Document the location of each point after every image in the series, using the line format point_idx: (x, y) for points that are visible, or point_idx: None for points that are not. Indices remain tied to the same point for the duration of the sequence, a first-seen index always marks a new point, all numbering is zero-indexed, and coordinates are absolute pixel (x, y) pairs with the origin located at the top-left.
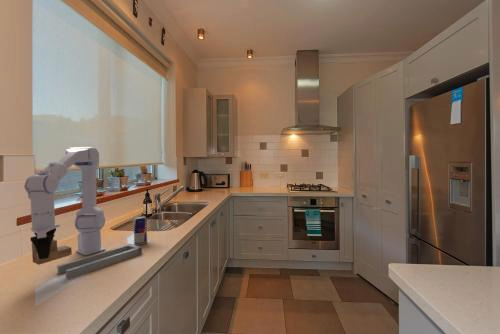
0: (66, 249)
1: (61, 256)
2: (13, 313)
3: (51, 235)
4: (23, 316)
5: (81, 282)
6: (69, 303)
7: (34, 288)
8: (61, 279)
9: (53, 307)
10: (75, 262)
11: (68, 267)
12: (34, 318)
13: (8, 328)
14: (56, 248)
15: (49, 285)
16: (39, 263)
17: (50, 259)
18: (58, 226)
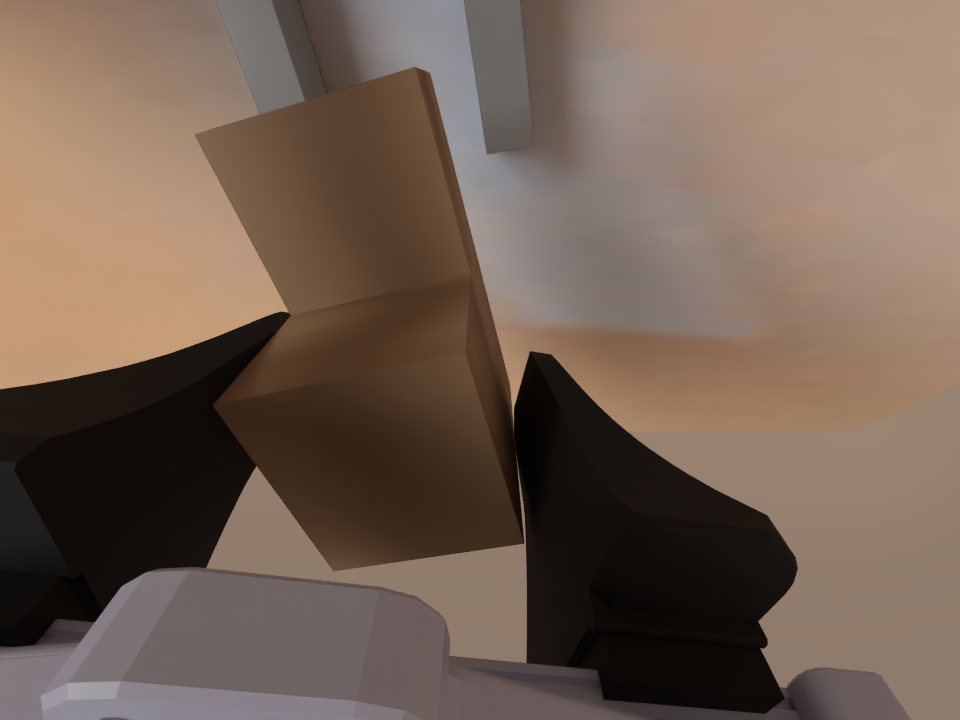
0: (439, 152)
1: (461, 207)
2: (741, 410)
3: (682, 569)
4: (820, 384)
5: (703, 55)
6: (951, 204)
7: (512, 327)
8: (492, 178)
9: (889, 280)
10: (277, 8)
11: (317, 94)
12: (897, 355)
13: (863, 425)
14: (471, 300)
15: (539, 258)
16: (508, 385)
17: (489, 312)
18: (449, 646)
